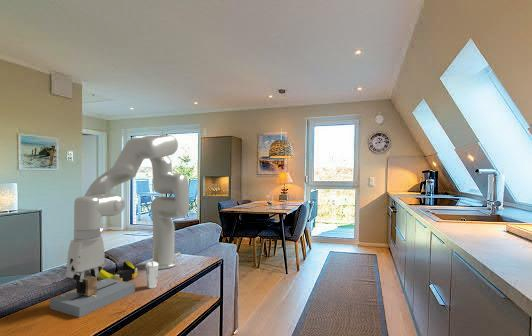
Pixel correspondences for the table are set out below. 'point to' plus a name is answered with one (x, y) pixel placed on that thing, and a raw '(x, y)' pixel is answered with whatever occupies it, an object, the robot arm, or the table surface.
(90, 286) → the fader
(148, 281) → the milkshake
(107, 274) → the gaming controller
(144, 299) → the table surface
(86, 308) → the slider panel
